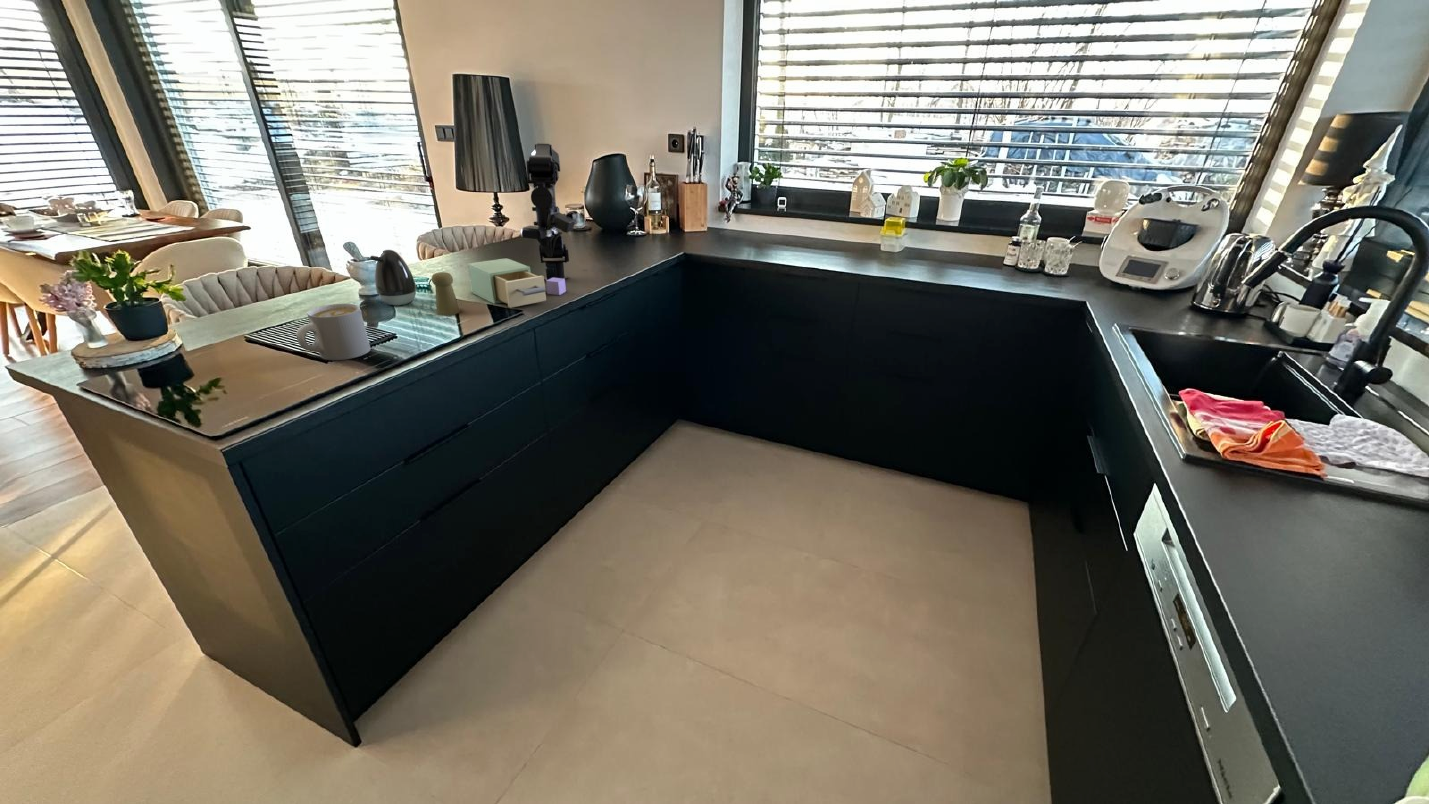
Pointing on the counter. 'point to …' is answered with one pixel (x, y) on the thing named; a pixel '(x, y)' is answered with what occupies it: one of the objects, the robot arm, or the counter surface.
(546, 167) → the robot arm
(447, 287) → the pepper mill
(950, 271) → the counter surface
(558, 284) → the soap block
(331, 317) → the coffee mug
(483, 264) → the green drawer cabinet
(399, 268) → the pump dispenser
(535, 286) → the drawer
